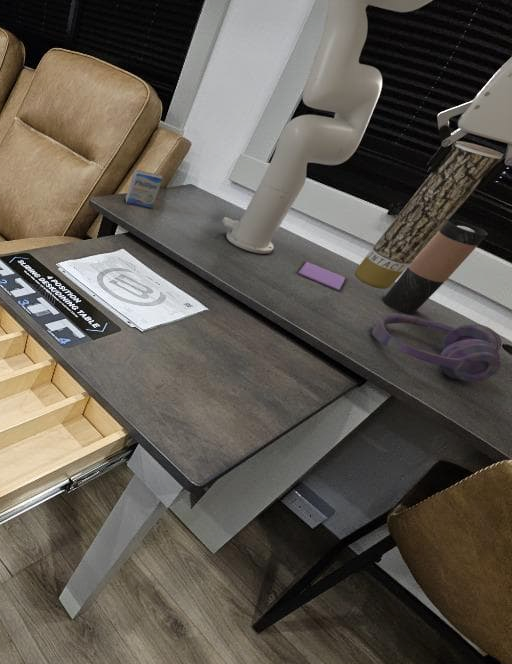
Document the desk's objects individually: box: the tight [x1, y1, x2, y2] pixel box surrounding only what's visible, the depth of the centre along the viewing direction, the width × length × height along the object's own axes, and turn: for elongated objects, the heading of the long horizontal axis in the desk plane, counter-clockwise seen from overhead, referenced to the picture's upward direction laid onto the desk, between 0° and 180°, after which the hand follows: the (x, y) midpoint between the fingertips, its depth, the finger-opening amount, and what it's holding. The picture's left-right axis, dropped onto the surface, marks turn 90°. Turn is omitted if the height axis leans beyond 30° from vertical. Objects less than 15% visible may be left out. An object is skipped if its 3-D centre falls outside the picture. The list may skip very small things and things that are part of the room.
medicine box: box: [125, 169, 163, 209], centre depth 133 cm, size 8×4×9 cm, turn 80°
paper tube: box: [354, 140, 505, 290], centre depth 82 cm, size 7×7×25 cm
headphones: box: [371, 312, 502, 383], centre depth 92 cm, size 18×8×20 cm
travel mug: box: [383, 219, 488, 314], centre depth 104 cm, size 8×8×20 cm
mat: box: [297, 261, 346, 292], centre depth 117 cm, size 10×10×1 cm
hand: (454, 178), depth 77 cm, fingers closed on paper tube, 6 cm apart
